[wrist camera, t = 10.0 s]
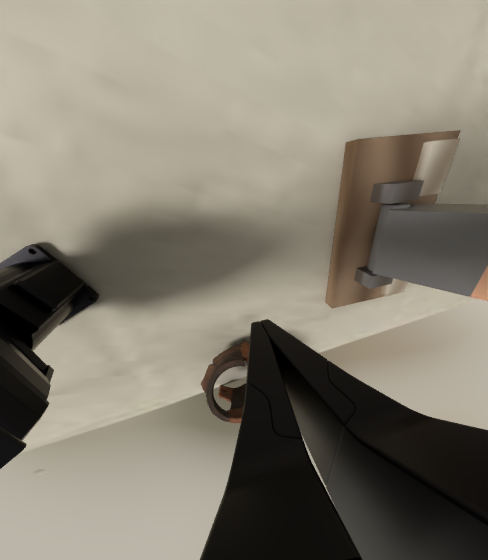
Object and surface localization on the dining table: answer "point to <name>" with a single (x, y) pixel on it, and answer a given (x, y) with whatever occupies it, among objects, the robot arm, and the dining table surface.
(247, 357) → the brown curved piece
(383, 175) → the brown rectangular slab
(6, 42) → the dining table surface
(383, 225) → the grey block
